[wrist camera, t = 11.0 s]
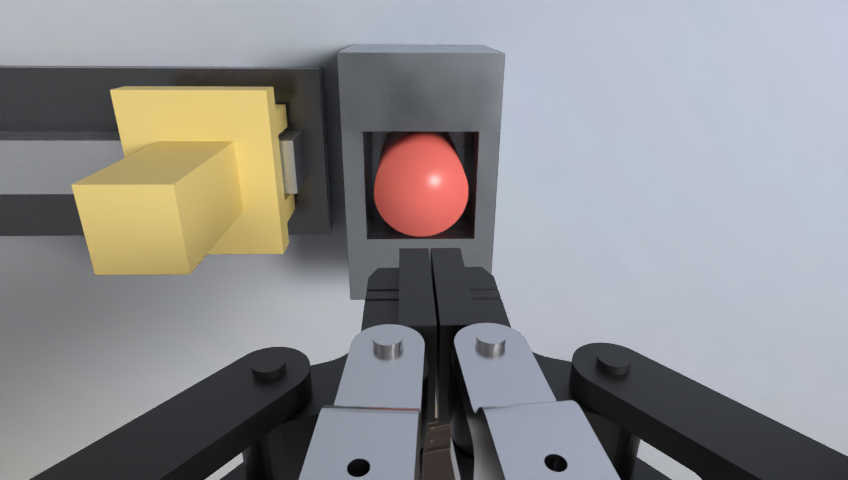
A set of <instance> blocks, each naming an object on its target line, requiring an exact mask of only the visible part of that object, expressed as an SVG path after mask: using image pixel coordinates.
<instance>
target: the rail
mask: <svg viewBox="0 0 848 480" xmlns="http://www.w3.org/2000/svg"><path fill="white" fill-rule="evenodd" d="M124 86H224V87H273V89H274V98H275V104H285V105H286V115H287V126H288V127H287V128H286V129H285V130H283V131H282V132H281V133H280V134H279V135H278V138H279V148H280V158H281V168H282V178H283V187H284V194H294V201H295V210H294V212H293V214H292V215H291V217H290V219H289V220H288V222H287V227H288V234H330V232H331V229H332V215H331V200H330V185H329V170H328V154H327V139H326V124H325V109H324V93H323V78H322V67H172V66H0V236H36V235H84V231H83V227H82V224H81V220H80V216H79V212H78V208H77V205H76V201H75V197H74V193H73V189H72V186H71V185H72V184H74V183H76V182H78V181H80V180H82V179H84V178H86V177H88V176H90V175H92V174H94V173H96V172H98V171H100V170H102V169H104V168H106V167H108V166H110V165H112V164H114V163H116V162H118V161H120V160H122V159H124V158H125V157H124V153H123V148H122V143H121V139H120V134H119V130H118V125H117V121H116V116H115V111H114V107H113V102H112V98H111V93H110V90H111V89H115V88H120V87H124Z"/></svg>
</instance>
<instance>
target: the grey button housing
mask: <svg viewBox="0 0 848 480" xmlns="http://www.w3.org/2000/svg"><path fill="white" fill-rule="evenodd" d="M337 61H338V80H339V98H340V117H341V135H342V153H343V172H344V190H345V209H346V227H347V245H348V264H349V282H350V300H365V298H366V292H367V283H368V278H369V277H370V275H371V274H372V273H373V272H374V271H375V270H376V269H377V268H399V248H428V249H429V257H430V250H431V248H460V249H461V253H462V258H463V262H464V266H465V267H483V268H484V269H485V270H486V271H488V272H489V273H490V274H491V272H492V256H493V240H494V224H495V209H496V193H497V177H498V161H499V145H500V129H501V113H502V97H503V81H504V65H505V53H503V52H500V51H498V50H495V49H492V48H489V47H487V46H484V45H354V44H353V45H351V46H349V47H347V48H345V49H343V50H341V51H339V52H337ZM393 131H442V132H446V133H447V134H448V135H449V137H450V138H451V140H452V141H453V143H454V146H455V148H456V151H457V154H458V156H459V159H460V162H461V164H462V167H463V170H464V173H465V175H466V178H467V182H468V200H467V204H466V207H465V209H464V211H463V213H462V215H461V216H460V217H459V219H458V220H457V221H456V222H455V223H454V224H453V225H452V226H451V227H449V228H448V229H446V230H445V231H443V232H440V233H438V234H435V235H431V236H423V237H419V236H411V235H407V234H404V233H401V232H399V231H397V230H396V229H394V228H393V227H391V226H390V225H389V224H388V223H387V222H386V221H385V220H384V219H383V217H382V216H381V214H380V213H379V211H378V209H377V206H376V203H375V198H374V186H375V180H376V175H377V170H378V165H379V160H380V155H381V150H382V147H383V144H384V142H385V140H386V139H387V137H388V136H389V135H390V134H391V133H392V132H393Z"/></svg>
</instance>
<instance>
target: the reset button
mask: <svg viewBox="0 0 848 480" xmlns="http://www.w3.org/2000/svg"><path fill="white" fill-rule="evenodd" d="M374 198H375V203H376V206H377V209H378V211H379V213H380V214H381V216H382V217H383V219H384V220H385V221H386V222H387V223H388V224H389V225H390V226H391V227H393V228H394V229H396V230H397V231H399V232H401V233H404V234H407V235H411V236H419V237H423V236H431V235H435V234H438V233H440V232H443V231H445V230H446V229H448V228H449V227H451V226H452V225H453V224H454V223H455V222H456V221H457V220H458V219H459V217H460V216H461V215H462V213H463V211H464V209H465V207H466V204H467V200H468V182H467V178H466V175H465V173H464V170H463V167H462V164H461V162H460V159H459V156H458V154H457V151H456V148H455V146H454V143H453V141H452V140H451V138H450V137H449V135H448V134H447V133H446V132H442V131H393V132H392V133H391V134H390V135H389V136H388V137H387V139H386V140H385V142H384V144H383V147H382V150H381V155H380V160H379V165H378V170H377V175H376V180H375V186H374Z"/></svg>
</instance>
